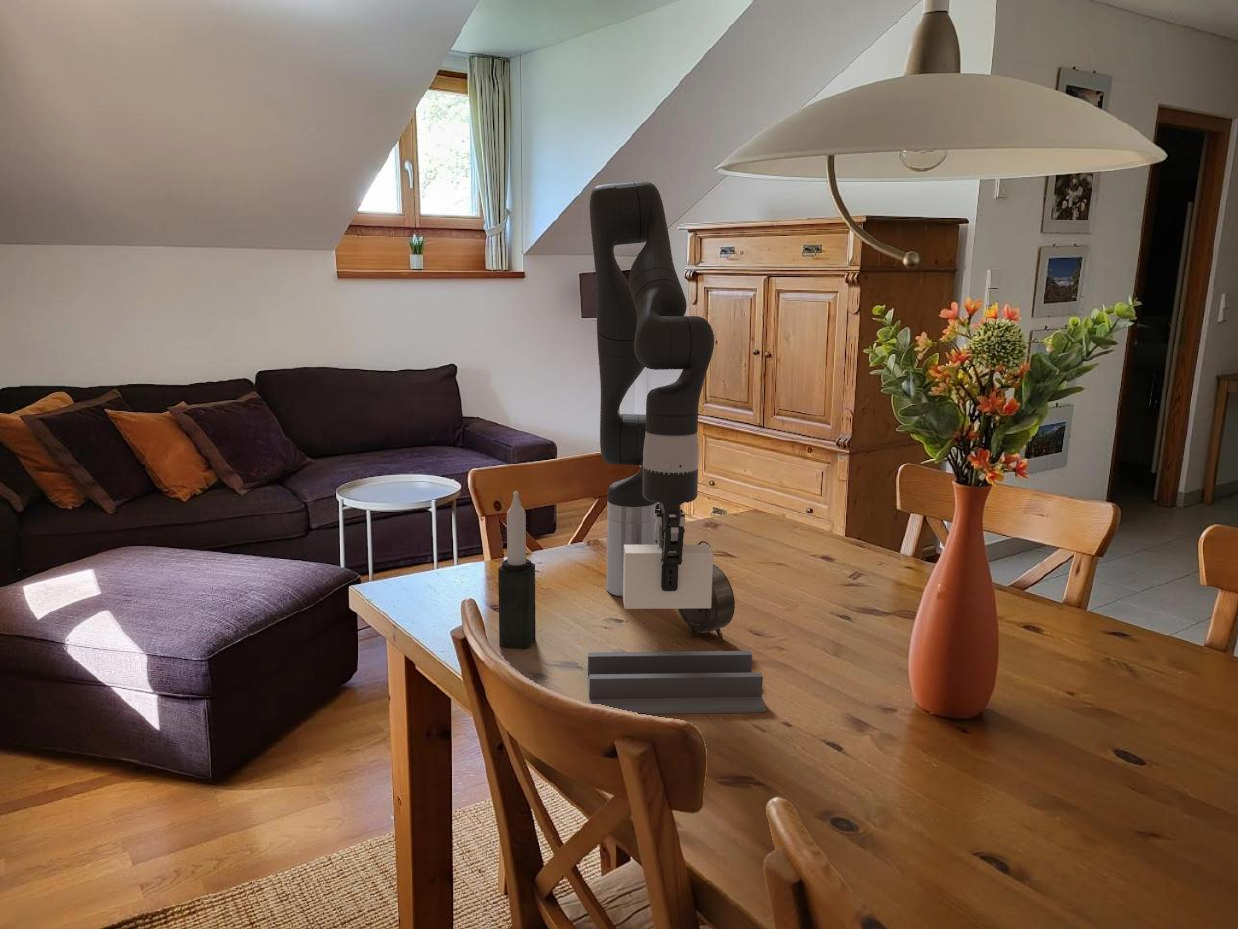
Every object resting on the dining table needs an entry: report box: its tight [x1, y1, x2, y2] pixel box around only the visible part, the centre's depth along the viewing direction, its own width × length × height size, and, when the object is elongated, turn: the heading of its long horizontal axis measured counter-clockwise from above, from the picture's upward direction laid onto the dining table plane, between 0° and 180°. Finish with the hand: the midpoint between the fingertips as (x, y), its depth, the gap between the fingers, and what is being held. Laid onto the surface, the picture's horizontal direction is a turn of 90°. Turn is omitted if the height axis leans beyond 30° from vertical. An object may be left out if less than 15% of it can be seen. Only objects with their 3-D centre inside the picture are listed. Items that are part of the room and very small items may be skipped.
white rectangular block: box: [622, 543, 714, 610], centre depth 128 cm, size 4×12×8 cm, turn 93°
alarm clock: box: [677, 540, 736, 643], centre depth 150 cm, size 11×5×16 cm, turn 35°
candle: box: [497, 490, 536, 650], centre depth 146 cm, size 5×5×25 cm
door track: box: [587, 650, 767, 715], centre depth 132 cm, size 14×24×4 cm, turn 93°
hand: (667, 584), depth 129 cm, fingers closed on white rectangular block, 4 cm apart
